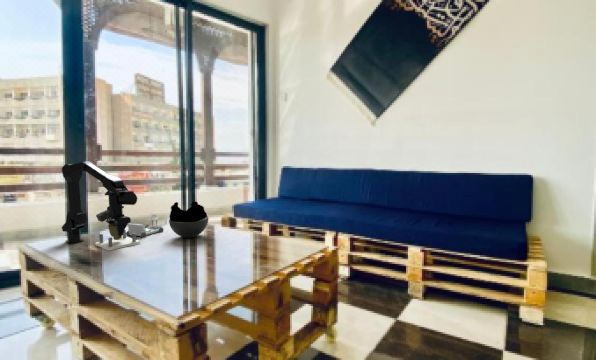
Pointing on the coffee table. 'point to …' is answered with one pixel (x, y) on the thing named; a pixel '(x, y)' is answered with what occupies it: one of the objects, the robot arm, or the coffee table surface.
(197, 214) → the coal bowl
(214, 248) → the coffee table surface
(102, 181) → the robot arm
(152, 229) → the toy car
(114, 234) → the dark brown ornate lampshade
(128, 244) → the peg stand
